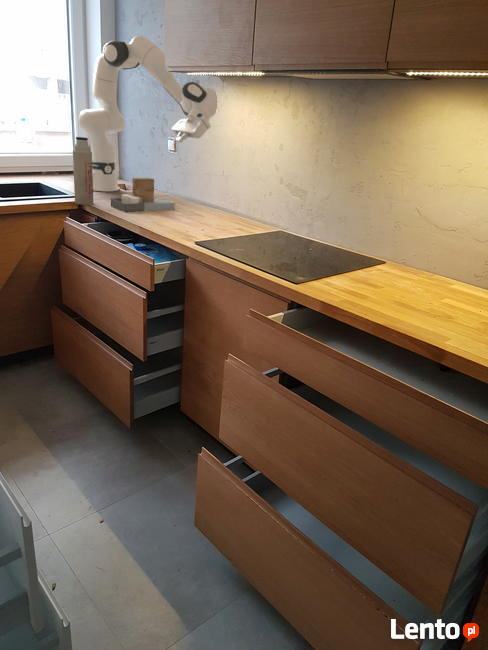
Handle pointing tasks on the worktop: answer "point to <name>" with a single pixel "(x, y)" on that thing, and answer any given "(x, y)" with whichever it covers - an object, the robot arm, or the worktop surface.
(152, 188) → the brown boxy piece
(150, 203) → the board
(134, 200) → the tile
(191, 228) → the worktop surface
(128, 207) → the tray
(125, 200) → the tile
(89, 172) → the thermos bottle
